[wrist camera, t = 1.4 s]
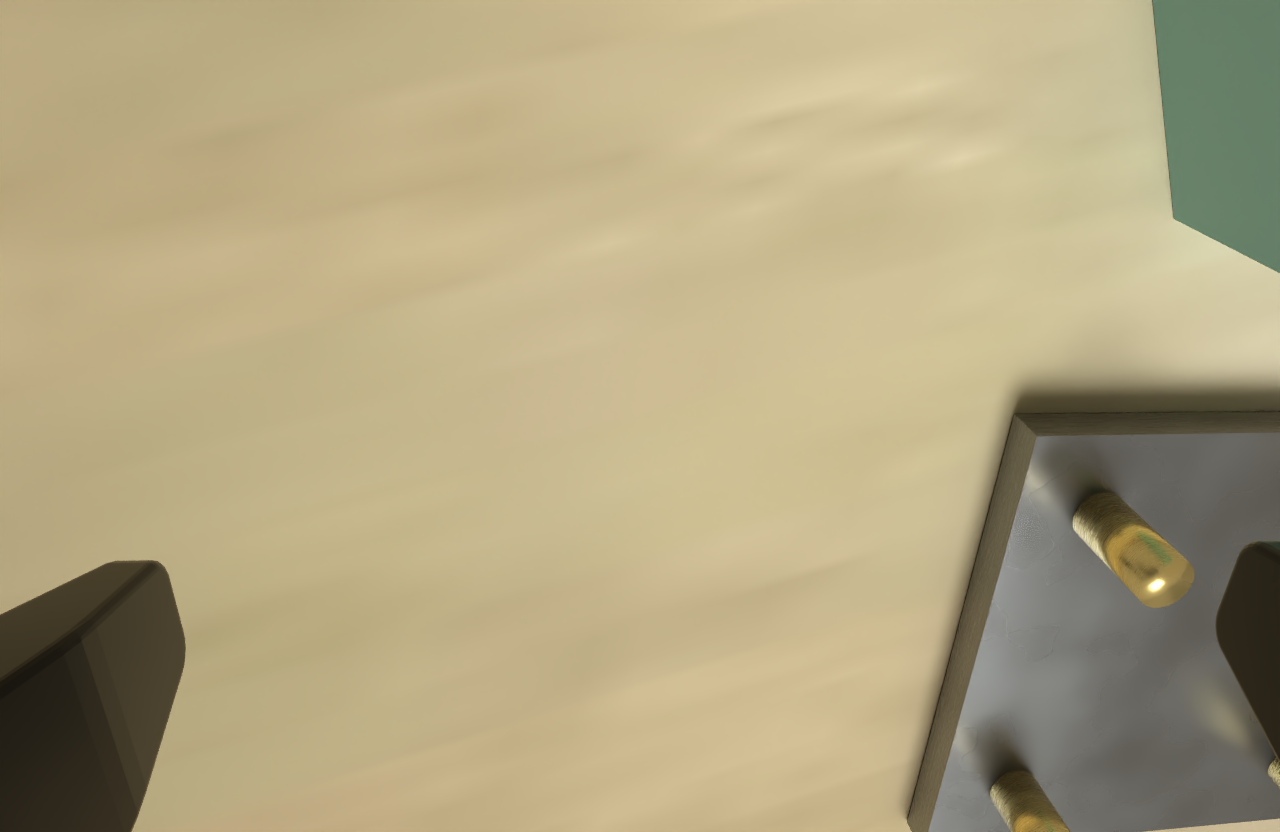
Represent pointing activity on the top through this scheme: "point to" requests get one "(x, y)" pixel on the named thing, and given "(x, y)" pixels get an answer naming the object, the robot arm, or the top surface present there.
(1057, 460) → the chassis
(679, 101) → the top surface
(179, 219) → the top surface
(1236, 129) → the tea tin
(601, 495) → the top surface
